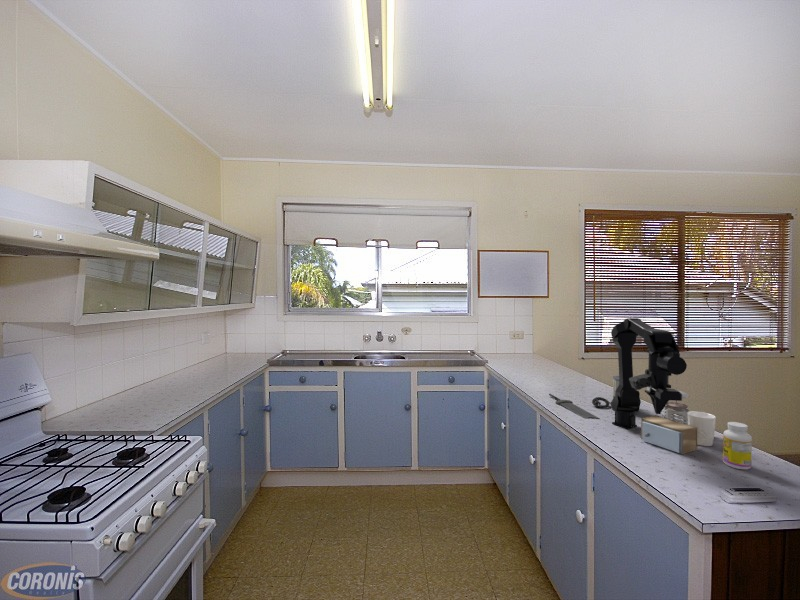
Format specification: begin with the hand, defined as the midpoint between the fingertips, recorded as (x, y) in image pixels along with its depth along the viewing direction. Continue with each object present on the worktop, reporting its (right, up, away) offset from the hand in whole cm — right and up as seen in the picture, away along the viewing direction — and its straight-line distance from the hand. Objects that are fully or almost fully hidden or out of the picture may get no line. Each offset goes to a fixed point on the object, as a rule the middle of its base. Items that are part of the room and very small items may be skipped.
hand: (657, 413), depth 130 cm
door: (+2, -12, +2) cm, 12 cm away
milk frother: (+10, -11, +45) cm, 48 cm away
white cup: (+20, -12, +6) cm, 24 cm away
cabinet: (+7, -12, +5) cm, 15 cm away
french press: (+19, -12, +19) cm, 30 cm away
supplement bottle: (+17, -13, -11) cm, 24 cm away
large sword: (-8, -12, +49) cm, 51 cm away
